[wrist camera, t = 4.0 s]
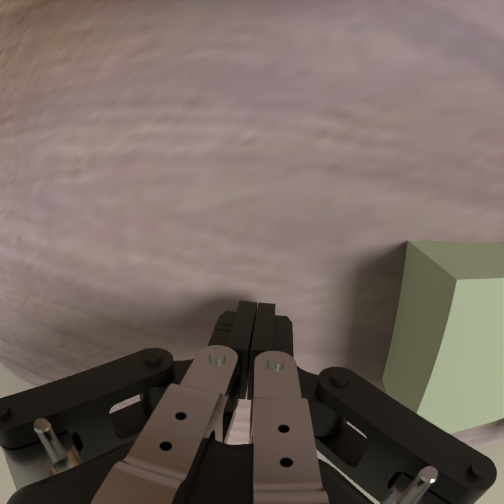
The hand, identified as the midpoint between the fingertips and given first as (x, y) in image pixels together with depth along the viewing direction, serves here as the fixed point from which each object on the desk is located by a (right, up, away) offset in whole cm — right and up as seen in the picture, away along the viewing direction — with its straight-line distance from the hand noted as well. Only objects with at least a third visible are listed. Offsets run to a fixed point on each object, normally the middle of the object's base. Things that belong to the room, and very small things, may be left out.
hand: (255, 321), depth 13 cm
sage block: (+11, 0, +1) cm, 11 cm away
